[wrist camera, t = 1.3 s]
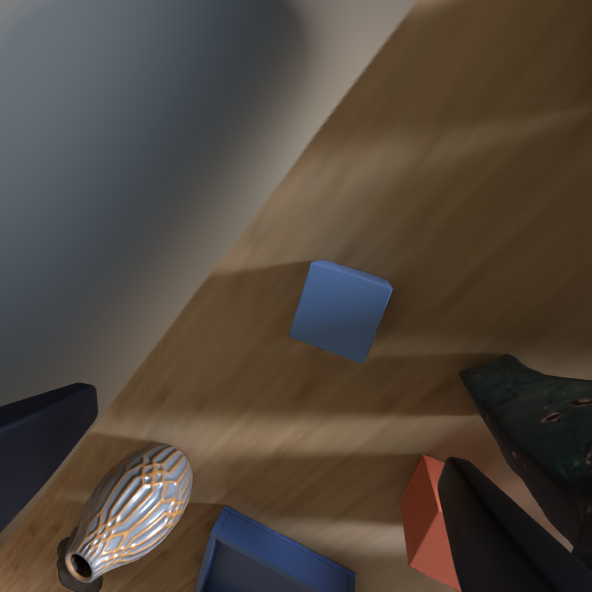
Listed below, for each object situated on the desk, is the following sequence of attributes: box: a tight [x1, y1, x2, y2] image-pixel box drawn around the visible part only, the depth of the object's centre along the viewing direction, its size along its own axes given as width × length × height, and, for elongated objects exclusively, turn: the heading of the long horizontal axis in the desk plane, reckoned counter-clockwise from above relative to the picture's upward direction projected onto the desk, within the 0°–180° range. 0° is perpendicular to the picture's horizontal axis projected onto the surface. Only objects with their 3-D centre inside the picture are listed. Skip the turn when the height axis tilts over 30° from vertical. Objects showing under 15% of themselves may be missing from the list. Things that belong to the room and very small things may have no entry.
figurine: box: [57, 526, 103, 592], centre depth 28 cm, size 6×4×12 cm
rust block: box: [400, 454, 461, 592], centre depth 18 cm, size 4×4×4 cm
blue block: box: [289, 260, 393, 364], centre depth 17 cm, size 4×4×4 cm
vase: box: [65, 444, 193, 583], centre depth 22 cm, size 7×7×9 cm
